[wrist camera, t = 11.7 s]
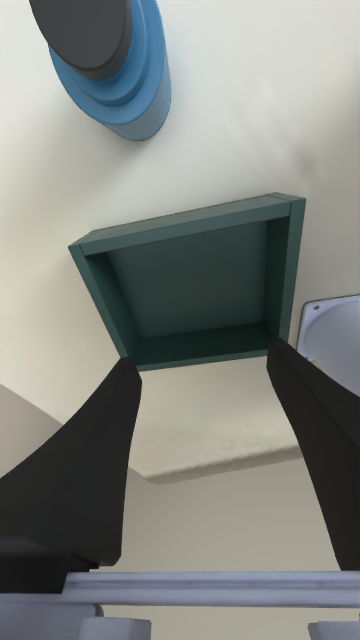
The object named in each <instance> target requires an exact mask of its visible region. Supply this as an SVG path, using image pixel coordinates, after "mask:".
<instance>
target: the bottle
mask: <svg viewBox="0 0 360 640" xmlns="http://www.w3.org/2000/svg"><path fill="white" fill-rule="evenodd" d="M29 2H30V5H31V9H32V12H33V15H34V17H35V20H36V22H37V25H38V27H39V29H40V31H41V33H42V34H43V36H44V38H45V40H46V41H47V43H48V47H49V52H50V55H51V58H52V62H53V65H54V67H55V70H56V72H57V75H58V77H59V79H60V81H61V83H62V85H63V86H64V88H65V90H66V91H67V93H68V94H69V96H70V97H71V98H72V100H73V101H74V102H75V103H76V104H77V106H78V107H79V108H80V109H81V110H83V111H84V112H85V113H86V114H87V115H89V116H90V117H92V118H93V119H95V120H96V121H98V122H99V123H101V124H103V125H104V126H106V127H108V128H109V129H111V130H112V131H114V132H116V133H117V134H119V135H120V136H122V137H124V138H126V139H129V140H134V141H140V140H145V139H148V138H150V137H152V136H153V135H154V134H155V133H157V131H158V130H159V129H160V128H161V127H162V125H163V123H164V121H165V119H166V117H167V115H168V111H169V107H170V101H171V83H170V75H169V68H168V60H167V52H166V45H165V37H164V30H163V24H162V19H161V15H160V11H159V7H158V4H157V1H156V0H29Z"/></svg>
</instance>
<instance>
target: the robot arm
mask: <svg viewBox="0 0 360 640" xmlns="http://www.w3.org/2000/svg"><path fill="white" fill-rule="evenodd" d="M315 306H316V307H315ZM314 307H315V308H314ZM315 360H316V361H317V363H318V364H319V366H320V367H321V368H322V370H323V371H324V372H322V371H321V370H320V369H318V368H317V367H316V366H315V365H313V364H312V363H311V362H310V361H315ZM266 368H267V371H268V374H269V377H270V380H271V383H272V386H273V388H274V390H275V392H276V394H277V397H278V399H279V401H280V403H281V405H282V407H283V409H284V411H285V413H286V416H287V418H288V420H289V422H290V424H291V426H292V428H293V431H294V433H295V435H296V438H297V440H298V443H299V446H300V449H301V451H302V454H303V457H304V460H305V463H306V465H307V468H308V471H309V474H310V477H311V480H312V483H313V486H314V489H315V492H316V495H317V498H318V501H319V504H320V507H321V510H322V513H323V517H324V520H325V523H326V526H327V530H328V533H329V536H330V539H331V543H332V546H333V549H334V553H335V557H336V559H337V562H338V564H339V567H340V569H341V571H248V572H247V571H241V572H240V571H238V572H237V571H236V572H89V570H90V569H99V566H113V565H115V564H116V562H117V561H118V560H119V558H120V557H121V545H122V527H123V512H124V500H125V487H126V479H127V469H128V461H129V453H130V446H131V441H132V436H133V432H134V427H135V422H136V418H137V413H138V409H139V404H140V399H141V389H142V380H141V377H140V375H139V372H138V370H137V368H136V365H135V363H134V361H133V358H132V356H129V357H121V358H120V359H119V361H118V362H117V363H116V365H115V366H114V367H113V369H112V370H111V371H110V372H109V374H108V375H107V376H106V378H105V379H104V380H103V382H102V383H101V384H100V385H99V387H98V388H97V389H96V390H95V392H94V393H93V394H92V395H91V396H90V397H89V399H88V400H87V401H86V402H85V403H84V404H83V406H82V407H81V408H80V409H79V410H78V411H77V412H76V413H75V414H74V415H73V416H72V417H71V418H70V419H69V420H68V421H67V422H66V423H65V424H64V425H63V426H62V427H61V428H60V429H59V430H58V431H57V432H56V433H55V434H54V435H53V436H52V437H50V439H48V440H47V441H46V442H45V443H44V444H43V445H42V446H41V447H39V448H38V449H37V450H36V451H35V452H33V453H32V454H31V455H30V456H29V457H27V458H26V459H25V460H24V461H22V462H21V463H20V464H19V465H17V466H16V467H15V468H14V469H12V470H11V471H10V472H9V473H7V474H6V475H4V476H3V477H2V478H0V640H150V636H151V624H152V623H151V621H150V620H143V619H132V618H116V617H104V614H103V609H102V607H101V606H100V605H135V606H139V605H140V606H214V607H223V606H224V607H295V608H296V607H297V608H360V295H357V296H350V297H343V298H336V299H330V300H323V301H316V302H310V303H307V304H306V305H305V306H304V309H303V315H302V322H301V328H300V334H299V340H298V346H297V351H296V350H295V349H294V348H293V347H292V346H290V345H289V344H288V343H287V342H286V341H285V340H283V339H282V338H275V339H268V353H267V367H266ZM359 617H360V614H359ZM308 630H309V634H310V637H311V640H360V620H359V622H326V621H324V622H323V621H321V622H320V621H319V622H318V623H309V624H308Z"/></svg>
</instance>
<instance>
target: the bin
mask: <svg viewBox="0 0 360 640" xmlns="http://www.w3.org/2000/svg"><path fill="white" fill-rule="evenodd" d="M305 204H306V198H302V197H297V196H292V195H287V194H281V193H271V194H266V195H262V196H257V197H252V198H247V199H243V200H238V201H233V202H228V203H223V204H219V205H214V206H209V207H204V208H199V209H195V210H190V211H185V212H180V213H175V214H171V215H166V216H161V217H156V218H151V219H147V220H142V221H137V222H132V223H127V224H123V225H118V226H113V227H108V228H103V229H99V230H94V231H91V232H90V233H88V234H87V235H85V236H84V237H82V238H80V239H79V240H77V241H76V242H74V243H72V244H71V245H69V246H68V249H69V251H70V253H71V255H72V257H73V259H74V261H75V263H76V266H77V268H78V270H79V272H80V274H81V276H82V278H83V280H84V282H85V284H86V286H87V289H88V291H89V293H90V295H91V297H92V299H93V301H94V303H95V305H96V307H97V309H98V311H99V314H100V316H101V318H102V320H103V322H104V324H105V326H106V328H107V330H108V332H109V334H110V337H111V339H112V341H113V343H114V345H115V347H116V349H117V351H118V353H119V355H120V357H129V356H132V358H133V361H134V363H135V365H136V368H137V370H138V372H141V371H149V370H157V369H165V368H173V367H181V366H189V365H197V364H206V363H214V362H222V361H230V360H238V359H246V358H254V357H262V356H267V353H268V339H275V338H282V339H283V340H285V341H286V342H287V343H288V336H289V328H290V320H291V313H292V305H293V297H294V289H295V281H296V274H297V266H298V258H299V250H300V243H301V235H302V227H303V219H304V211H305Z"/></svg>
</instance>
